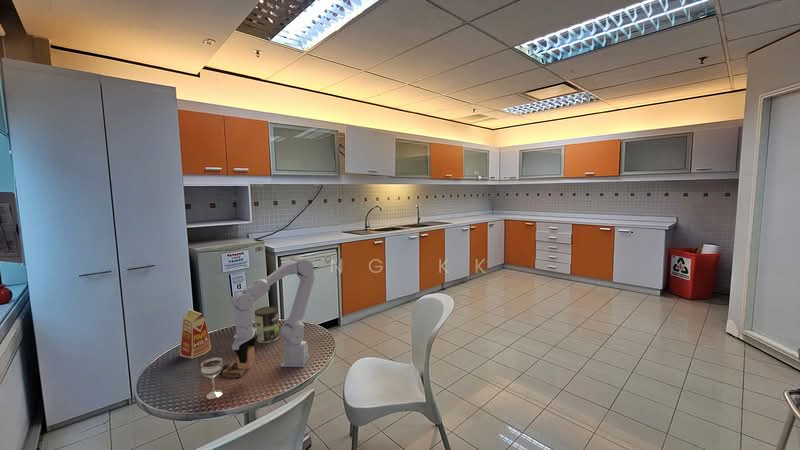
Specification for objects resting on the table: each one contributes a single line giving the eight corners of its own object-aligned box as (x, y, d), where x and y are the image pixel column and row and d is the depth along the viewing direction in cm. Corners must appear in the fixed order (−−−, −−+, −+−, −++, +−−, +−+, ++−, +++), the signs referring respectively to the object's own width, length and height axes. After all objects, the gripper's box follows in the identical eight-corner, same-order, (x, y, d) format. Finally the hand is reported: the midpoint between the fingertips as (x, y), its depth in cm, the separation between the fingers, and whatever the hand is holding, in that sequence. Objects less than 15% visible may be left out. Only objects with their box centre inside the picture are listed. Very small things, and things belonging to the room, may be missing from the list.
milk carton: (179, 355, 146) (175, 311, 144) (199, 346, 155) (195, 304, 152) (194, 359, 143) (190, 314, 140) (213, 349, 151) (209, 307, 149)
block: (255, 362, 129) (254, 346, 128) (249, 368, 124) (248, 352, 124) (244, 362, 129) (242, 346, 128) (237, 368, 125) (236, 351, 124)
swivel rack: (215, 364, 138) (215, 358, 137) (251, 366, 137) (250, 359, 136) (204, 375, 130) (203, 368, 130) (241, 376, 129) (240, 369, 129)
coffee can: (282, 333, 167) (280, 306, 165) (274, 343, 157) (272, 314, 155) (261, 333, 167) (260, 306, 165) (252, 343, 157) (250, 314, 155)
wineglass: (228, 387, 122) (225, 356, 121) (220, 399, 116) (218, 366, 114) (208, 389, 122) (205, 358, 120) (199, 401, 115) (196, 368, 113)
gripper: (243, 316, 132) (245, 349, 134) (222, 332, 118) (225, 369, 119) (261, 316, 132) (263, 349, 133) (242, 333, 117) (245, 369, 119)
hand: (246, 359), depth 126 cm, fingers closed on block, 4 cm apart
